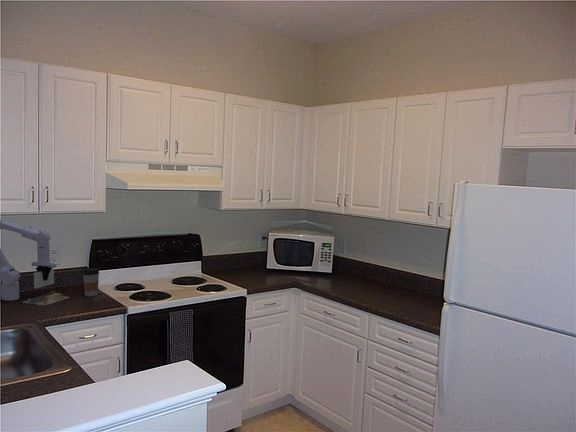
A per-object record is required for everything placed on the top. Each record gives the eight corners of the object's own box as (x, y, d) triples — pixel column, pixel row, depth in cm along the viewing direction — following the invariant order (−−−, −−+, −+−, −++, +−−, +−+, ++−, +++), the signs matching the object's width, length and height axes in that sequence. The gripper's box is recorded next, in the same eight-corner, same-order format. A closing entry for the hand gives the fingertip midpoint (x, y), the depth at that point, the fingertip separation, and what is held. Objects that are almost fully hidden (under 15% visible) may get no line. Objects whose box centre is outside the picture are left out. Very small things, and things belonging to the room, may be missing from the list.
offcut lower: (43, 302, 240) (43, 299, 240) (58, 297, 250) (58, 295, 250) (49, 303, 239) (49, 300, 239) (64, 298, 249) (64, 295, 249)
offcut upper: (44, 299, 241) (44, 296, 240) (56, 295, 248) (56, 293, 248) (50, 300, 240) (50, 297, 239) (62, 296, 247) (62, 293, 247)
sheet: (34, 288, 244) (33, 272, 243) (52, 283, 255) (51, 268, 254) (35, 288, 243) (35, 273, 243) (54, 283, 255) (53, 268, 254)
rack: (21, 304, 240) (21, 298, 240) (47, 296, 256) (47, 290, 256) (45, 307, 236) (45, 301, 236) (70, 298, 252) (70, 293, 252)
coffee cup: (98, 298, 255) (97, 270, 254) (81, 298, 253) (81, 271, 252) (100, 294, 263) (100, 267, 262) (85, 294, 261) (84, 268, 260)
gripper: (60, 254, 249) (61, 279, 251) (38, 252, 254) (39, 277, 255) (49, 256, 243) (50, 282, 244) (27, 254, 247) (28, 280, 248)
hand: (44, 280), depth 249 cm, fingers closed on sheet, 1 cm apart
